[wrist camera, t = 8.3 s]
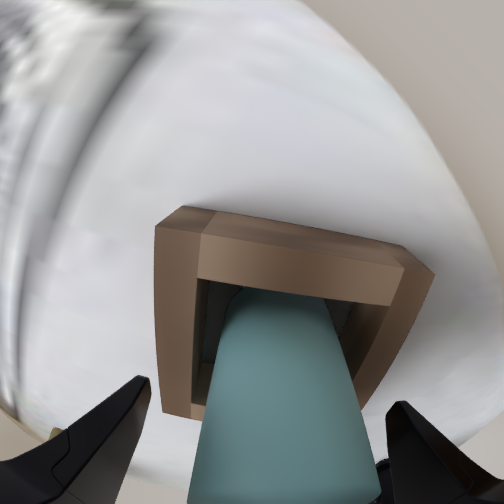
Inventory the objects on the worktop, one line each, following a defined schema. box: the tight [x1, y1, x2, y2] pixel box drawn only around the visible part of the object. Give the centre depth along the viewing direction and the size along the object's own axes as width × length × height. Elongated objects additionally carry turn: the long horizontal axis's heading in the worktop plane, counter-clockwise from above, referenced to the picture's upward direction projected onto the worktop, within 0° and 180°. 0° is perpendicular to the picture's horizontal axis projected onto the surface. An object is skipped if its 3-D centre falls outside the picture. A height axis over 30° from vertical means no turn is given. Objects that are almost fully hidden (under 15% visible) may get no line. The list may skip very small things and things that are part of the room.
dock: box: [154, 206, 435, 421], centre depth 11 cm, size 10×14×4 cm
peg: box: [187, 286, 381, 504], centre depth 9 cm, size 5×5×9 cm
